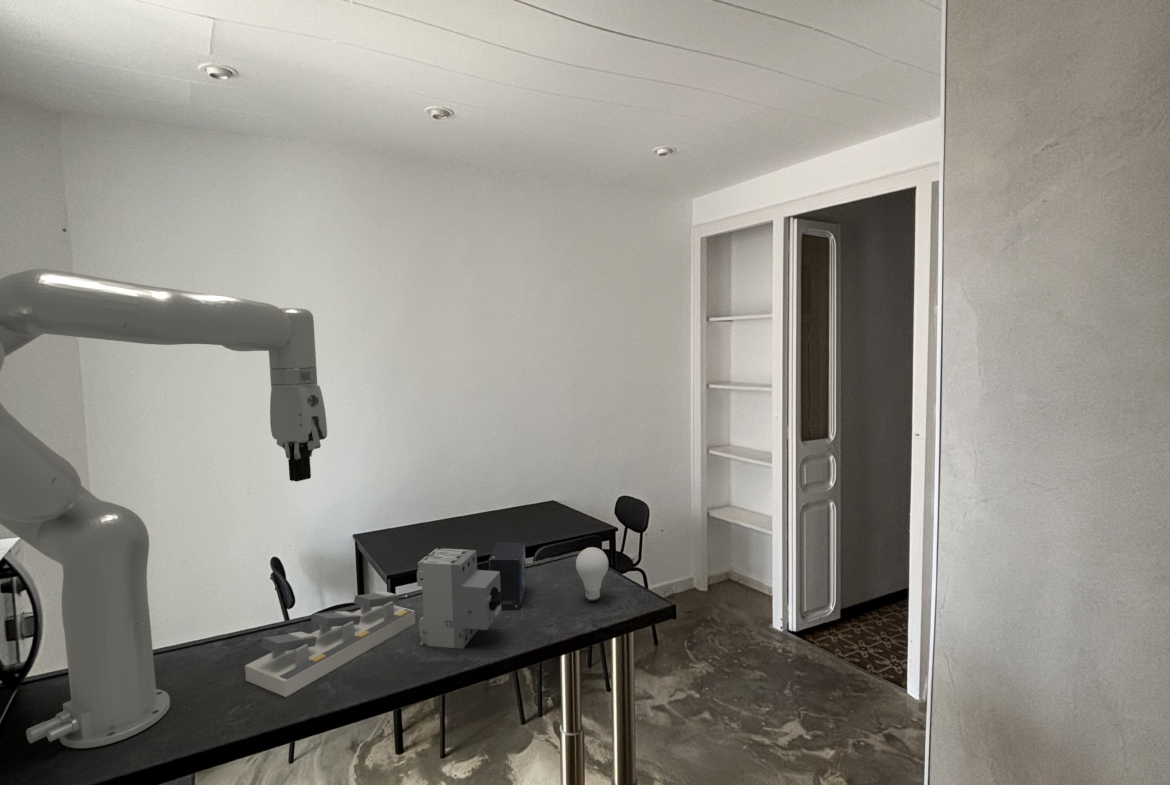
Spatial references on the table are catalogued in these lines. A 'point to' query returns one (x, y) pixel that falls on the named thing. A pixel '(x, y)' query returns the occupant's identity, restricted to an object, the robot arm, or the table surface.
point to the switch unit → (328, 649)
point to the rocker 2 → (335, 619)
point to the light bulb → (592, 570)
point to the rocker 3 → (375, 599)
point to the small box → (510, 572)
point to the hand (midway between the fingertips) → (300, 479)
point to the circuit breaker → (456, 597)
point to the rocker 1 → (288, 641)
